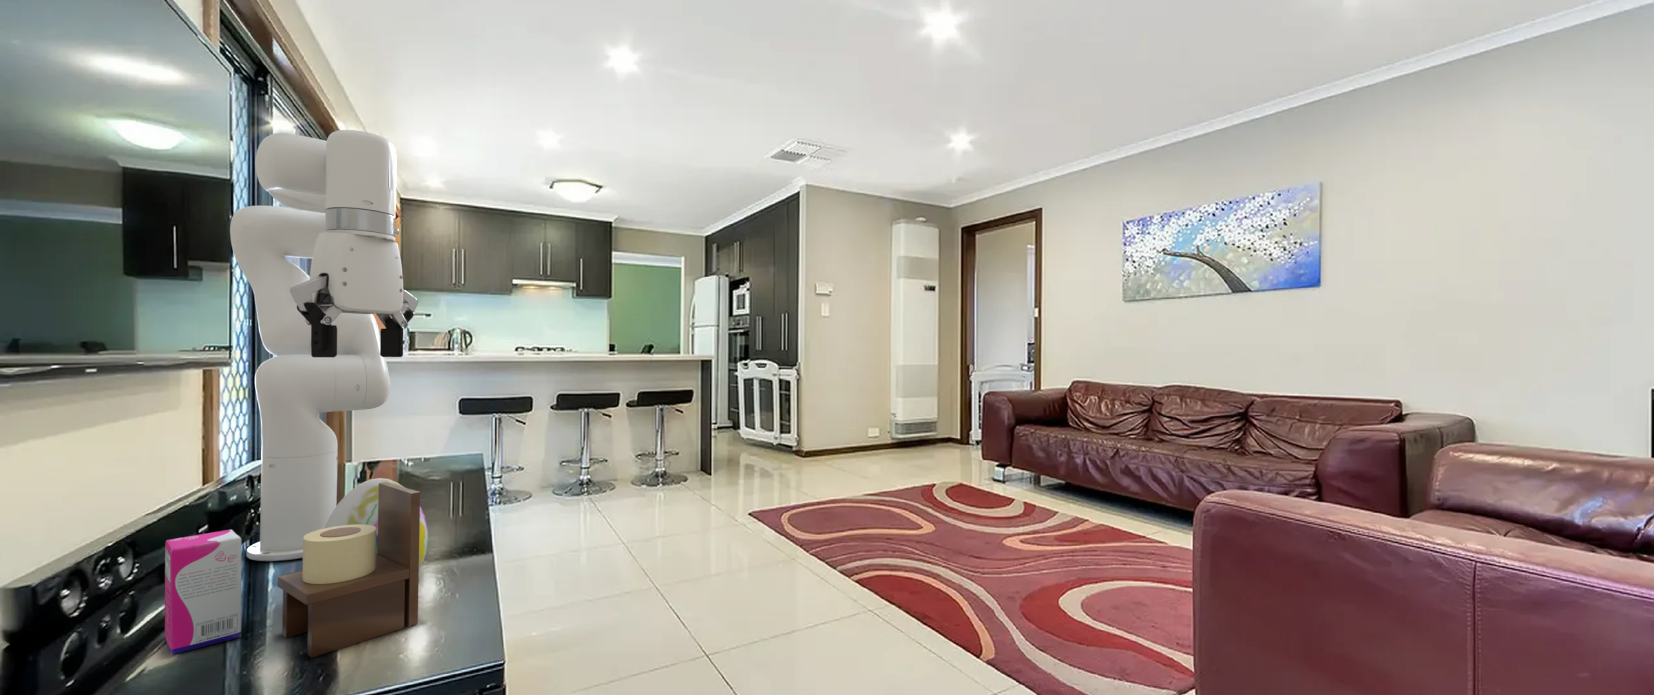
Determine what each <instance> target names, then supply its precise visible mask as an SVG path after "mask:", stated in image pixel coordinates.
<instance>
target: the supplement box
mask: <svg viewBox="0 0 1654 695" xmlns="http://www.w3.org/2000/svg"><path fill="white" fill-rule="evenodd" d="M164 546H165V547H164V565H165V566H164V589H165V590H164V640H165V643H166V645H167V648H168V650H169V653H170V655H171V656H173V655H177V654H180V653H185V652H188V651H192V650H196V649H199V648H200V649H201V648H204V647H207V646H212V645H215V644H220V643H224V642H227V641H231V640H234V639H235V640H236V639H238V638H241V637H242V538H241V536H240V535H238V534H237V533H236V532H235V531H234V530H233V529H226V530H225V529H224V530H220V531H214V532H208V533H201V534H196V535H189V536H184V537H183V536H182V537H178V538H170V539H167V540H165V545H164Z"/></svg>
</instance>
